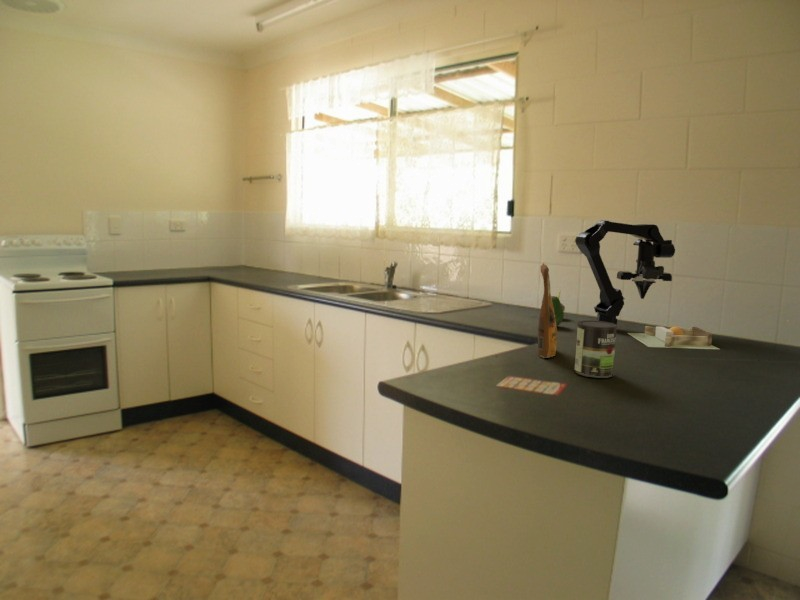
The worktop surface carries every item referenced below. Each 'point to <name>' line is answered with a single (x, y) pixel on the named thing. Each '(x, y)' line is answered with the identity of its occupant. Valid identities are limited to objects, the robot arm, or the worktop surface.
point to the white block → (663, 333)
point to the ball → (677, 331)
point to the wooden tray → (685, 337)
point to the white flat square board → (655, 342)
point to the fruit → (557, 310)
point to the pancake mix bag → (547, 320)
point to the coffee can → (595, 347)
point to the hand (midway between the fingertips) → (642, 298)
